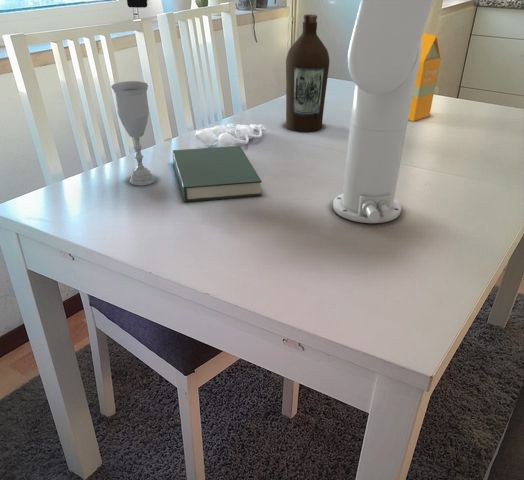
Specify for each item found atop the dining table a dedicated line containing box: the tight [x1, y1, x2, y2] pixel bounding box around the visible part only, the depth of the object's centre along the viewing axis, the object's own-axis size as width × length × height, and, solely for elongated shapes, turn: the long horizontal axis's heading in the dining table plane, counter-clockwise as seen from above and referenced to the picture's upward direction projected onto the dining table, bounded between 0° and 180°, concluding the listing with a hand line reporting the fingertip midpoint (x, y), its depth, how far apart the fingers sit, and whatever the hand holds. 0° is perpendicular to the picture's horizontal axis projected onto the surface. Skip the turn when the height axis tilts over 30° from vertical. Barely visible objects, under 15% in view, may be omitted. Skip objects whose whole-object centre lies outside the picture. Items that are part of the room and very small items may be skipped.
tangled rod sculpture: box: [194, 123, 267, 147], centre depth 131 cm, size 19×14×4 cm
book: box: [171, 145, 262, 203], centre depth 112 cm, size 21×15×3 cm
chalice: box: [110, 80, 155, 186], centre depth 106 cm, size 7×7×18 cm
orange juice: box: [408, 32, 442, 122], centre depth 145 cm, size 8×9×20 cm
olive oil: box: [285, 13, 330, 133], centre depth 134 cm, size 11×11×25 cm
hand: (140, 3), depth 93 cm, fingers open, 9 cm apart
